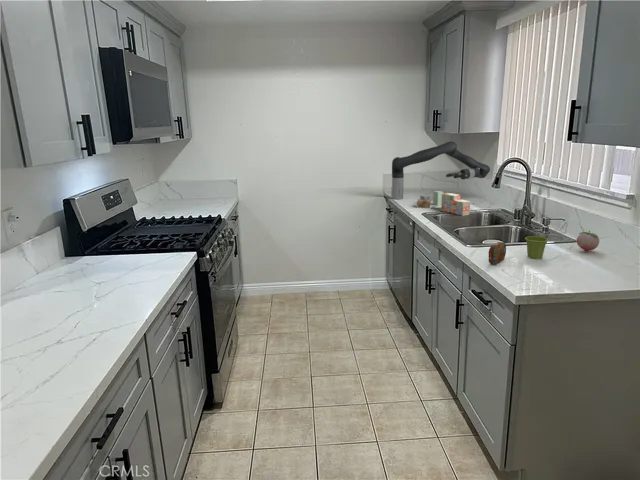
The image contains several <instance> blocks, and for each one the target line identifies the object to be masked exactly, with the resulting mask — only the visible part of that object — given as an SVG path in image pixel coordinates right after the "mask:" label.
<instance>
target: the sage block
mask: <svg viewBox="0 0 640 480" xmlns="http://www.w3.org/2000/svg"><path fill="white" fill-rule="evenodd" d="M442 194H444V191H442V190H435V191H433V196H432V197H433V198H432V199H433V200H432V204H433V206H438V207H440V206H441V204H442V202H441V201H442Z"/></svg>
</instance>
